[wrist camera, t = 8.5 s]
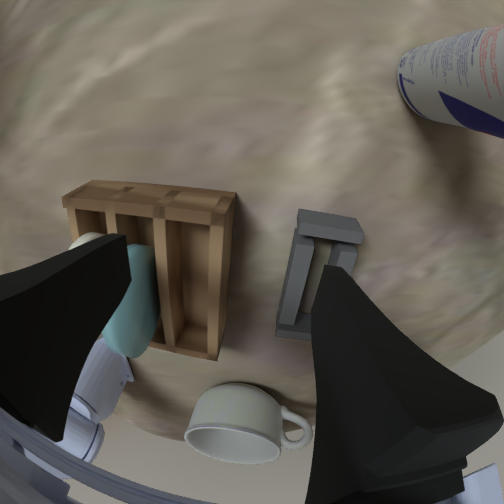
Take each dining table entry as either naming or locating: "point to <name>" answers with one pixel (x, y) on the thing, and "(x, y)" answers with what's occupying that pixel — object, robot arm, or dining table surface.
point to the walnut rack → (170, 252)
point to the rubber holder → (301, 253)
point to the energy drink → (458, 80)
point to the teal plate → (136, 306)
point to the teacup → (242, 425)
